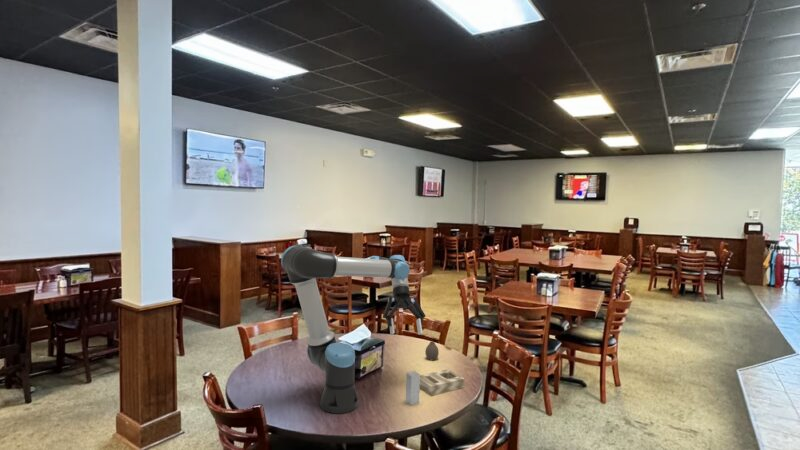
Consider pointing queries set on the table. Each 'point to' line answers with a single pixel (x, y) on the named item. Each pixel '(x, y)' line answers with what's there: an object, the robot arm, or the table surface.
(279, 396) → the table surface
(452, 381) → the holder
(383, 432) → the table surface
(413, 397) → the grey rectangular block
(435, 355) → the dark grey egg
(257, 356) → the table surface
